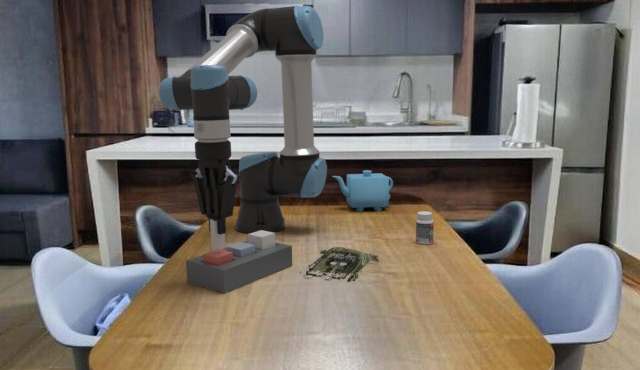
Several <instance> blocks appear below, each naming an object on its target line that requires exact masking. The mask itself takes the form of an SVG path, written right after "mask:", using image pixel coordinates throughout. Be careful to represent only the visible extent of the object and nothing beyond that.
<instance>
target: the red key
mask: <svg viewBox="0 0 640 370" xmlns="http://www.w3.org/2000/svg"><path fill="white" fill-rule="evenodd" d="M220 249H221V248H220ZM220 249H217V250H216V249H213V250H212V251H207V252H205V253H202V255H203V262H204V263H208V264H211V265H215V266H219V265H222V264H225V263H228V262H231V261H233V252H229V251H224V250H220Z"/></svg>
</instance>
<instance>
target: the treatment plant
mask: <svg viewBox="0 0 640 370" xmlns="http://www.w3.org/2000/svg"><path fill="white" fill-rule="evenodd" d="M319 253H320V254H322V255H321V256H320V257H318V258H316V260H315V261H314V262H313V263H311V264H308V265H307V266H306V268H305V275H303V276H302V277H303V278H304V279H312V278H313V277H316V278H318V277H319V278H322V279H325V280H329V281H332V280H333V279H336V280H338V281H339V280H340V281H339V282H342V280H344V279H345V280H346V278H347V276H349V277H348V278H347V282H349V281H353V282H354V281H356V280H357V279H358V278H359V274H357V273H359V272H360V274H363V275H365V274H364V273H362V269H363V268H365V267H366V266H368V265H373V266H375V265H378V263H379V261H380V260H379V259H378V257H379V255H375V254H372V253H368V252H364V251H360V250H357V249H352V248H346V247H344V246H343V247H342V246H340V247H339V246H333V247H331V248H329V249H328V250H327V249H323V250H320V252H319ZM307 269H308V270H307ZM312 272H313V273H312ZM317 272H318V274H317ZM298 273H299V274H301V273H302V270H300V271H299V272H298ZM328 274H332V275H328ZM336 275H339V276H336ZM353 277H354V278H353ZM351 279H352V280H351Z"/></svg>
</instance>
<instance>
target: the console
mask: <svg viewBox="0 0 640 370" xmlns="http://www.w3.org/2000/svg"><path fill="white" fill-rule="evenodd" d="M243 243H247V244H248V240H245V241H243ZM220 250H224V251H227V246H225V247H223V248H220ZM185 266H186V269H185V270H186V282H187V283H190V284H192V285H196V286H199V287H202V288H206V289H209V290H212V291H215V292H220V293H223V294H227V293H229V292H232V291H235V290H237V289H239V288H242V287H245V286H247V285H249V284H251V283H254V282H256V281H258V280H261V279H263V278H266V277H268V276H270V275H273V274H277V273H278V272H281V271H283V270H286V269H288V268H290V267H293V245H291V244H285V243H280V242H276V246H274V247H271V248H268V249H265V250H259V249H255V253H254V254H251V255H248V256H245V257H242V258H240V257H236V256H233V261H231V262H228V263H225V264H222V265H219V266H215V265H211V264H208V263H204V262H203V254H202V255H198V256H196V257H192V258H189V259H186V260H185Z"/></svg>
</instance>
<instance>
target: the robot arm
mask: <svg viewBox="0 0 640 370" xmlns="http://www.w3.org/2000/svg"><path fill="white" fill-rule="evenodd" d="M323 41H324V28H323V24H322V21H321V18H320V16H319V14H318V12H317V10H316V9H315V8H313V6H310V5H294V6H282V7H274V8H273V7H272V8H270V7H269V8H268V7H267V8H261V9H258V10H255V11H253V12H251V13H249V14H247V15H245V16H243V17H242V18H240V19H239V20H238V21H236V22H235V23H234V24H233V25H231V26H230V27H229V28H228V29H227V31H226V34H225V37H223V38H222V39H221V40H220V41H218V43H217V44H215V45H214V46H213V47H212V48H211V49H210V50H209V51H207V53H205V54H203V56H202V57H201V58H200V59H198V60H197V61H196V62H195V63H194V64H193V65H191V67H189V68H188V69H187V70H186V71H185V72H184V73H182V74H181V75H180V76H177V77H176V76H172V77H166V78H164V79H162V80H161V82H160V84H159V86H158V87H159V88H158V96H159V99H160V103H161V104H162V106H163V107H165V108H166V109H168V110H174V111H175V110H177V111H192V113H193V114H192V115H193V116H192V119H193V135H194V139H195V140H197V141H195V143H194V153H195V155H194V157H195V159H196V160H198V164H197V168H196V169H195V170H192V171H190V176H191V178H192V180H193V182H194V186H195V191H196V196H197V202H198V204H199V209H200V213H201V215H202V216H203V215H204V216H206V217H207V219H208V230H209V233H210V243H211V245H210V247H211V249H212V250H217V249H223V248H226V236H225V235H226V232H227V223H226V222H227V220H226V219H227V218H230V217H232V216H233V214H234V213H233V212H234V206H235V200H236V190H237V185H238V182H239V196H240V197H239V198H240V205H239V209H238V213H237V218H236V219H235V230H236V231H237V232H241V233H245V234H250V233H254V232H257V231H260V230H263V231H268V232H273V233H276V232H279V231H282V230H283V229H285V227H286V221H285V218H284V216H283V212H282V209H281V207H280V202H279V197H295V198H303V199H304V198H316V197H318V196H319V195H320V194H321V193H322V191H323V190H324V187H325V185H326V181H327V176H328V175H327V174H328V173H327V172H328V165H327V161H326V159H325V158H323V157H321V156H320V150H319V149H318V148H317V147H316V146H315V142H314V141H315V140H314V139H315V138H314V137H315V136H314V131H315V130H314V109H313V108H314V103H313V101H314V100H313V72H312V70H313V69H312V62H313V61H314V59H315V58H316V57H317V50H319V49H321V48H322V47H323V45H324V42H323ZM261 52H275V53H274V54H275V59H277V60H278V61H279V63H280V64H281V65H280V66H281V68H280V69H281V70H280V71H281V89H282V90H281V92H282V111H283V132H284V133H283V136H284V137H283V139H284V140H283V141H284V147H283V149H281V151H280V152H279V154H278V152H277V151H269V152H268V151H267V152H261V153H254V154H253V153H252V154H249V155H248V154H247V155H244V156H242V157H241V158H240V159H239V162H238V163H239V165H238V173H239V174H238V173H234V172H233V171H232V169H231V165H230V161H229V160H230V158H231V157H232V142H231V141H230V140H229V139H230V138H231V134H232V133H231V123H230V121H231V120H230V111H234V110H236V111H237V110H241V111H242V110H245V109H248V108H250V107H252V106H253V105H254V104H255V102H256V101H257V97H258V89H257V85H256V83H255V82H254V81H253V80H252V79H251V78H249V77H248V76H244V75H230V74H231V73H232V72H233V71H234V70H235V69H236V68H237V66H239V65H240V64H241V63H242V62H243V61H244V60H245V59H248V58H250V57H253V56H254V55H255V54H256V53H261Z"/></svg>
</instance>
